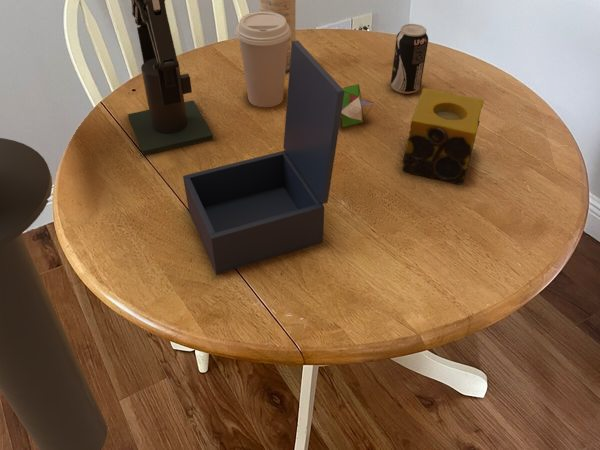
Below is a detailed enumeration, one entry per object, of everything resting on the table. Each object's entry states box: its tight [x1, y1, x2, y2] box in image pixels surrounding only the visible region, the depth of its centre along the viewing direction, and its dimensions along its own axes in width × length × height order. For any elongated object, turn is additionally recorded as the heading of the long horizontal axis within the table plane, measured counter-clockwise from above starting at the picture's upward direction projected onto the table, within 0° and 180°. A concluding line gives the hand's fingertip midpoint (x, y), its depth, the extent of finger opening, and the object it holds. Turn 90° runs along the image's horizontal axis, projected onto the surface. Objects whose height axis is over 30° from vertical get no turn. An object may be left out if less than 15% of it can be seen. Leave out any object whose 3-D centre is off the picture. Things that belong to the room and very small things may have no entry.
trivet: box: [127, 100, 214, 157], centre depth 102 cm, size 12×12×1 cm
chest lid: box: [282, 39, 345, 205], centre depth 76 cm, size 16×14×1 cm
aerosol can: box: [258, 0, 297, 73], centre depth 112 cm, size 7×7×20 cm
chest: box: [182, 150, 325, 275], centre depth 82 cm, size 16×14×7 cm
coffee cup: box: [234, 11, 291, 108], centre depth 105 cm, size 10×10×15 cm
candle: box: [401, 87, 485, 185], centre depth 93 cm, size 10×10×10 cm
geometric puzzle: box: [340, 83, 374, 128], centre depth 102 cm, size 7×7×8 cm
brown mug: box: [140, 58, 193, 134], centre depth 98 cm, size 7×6×11 cm
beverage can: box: [390, 23, 429, 95], centre depth 108 cm, size 6×6×12 cm
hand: (161, 82), depth 96 cm, fingers open, 13 cm apart
